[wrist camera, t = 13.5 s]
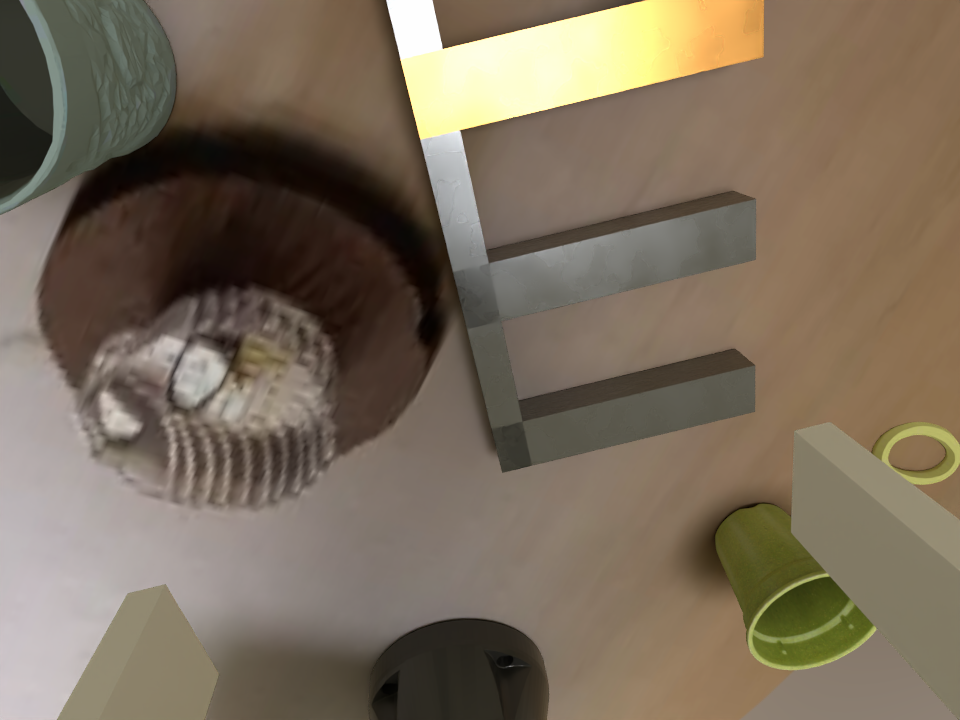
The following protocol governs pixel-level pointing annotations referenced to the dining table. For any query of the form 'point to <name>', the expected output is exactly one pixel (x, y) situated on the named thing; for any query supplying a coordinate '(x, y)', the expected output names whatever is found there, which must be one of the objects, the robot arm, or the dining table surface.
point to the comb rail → (588, 250)
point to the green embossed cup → (77, 89)
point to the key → (953, 450)
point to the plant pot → (786, 593)
